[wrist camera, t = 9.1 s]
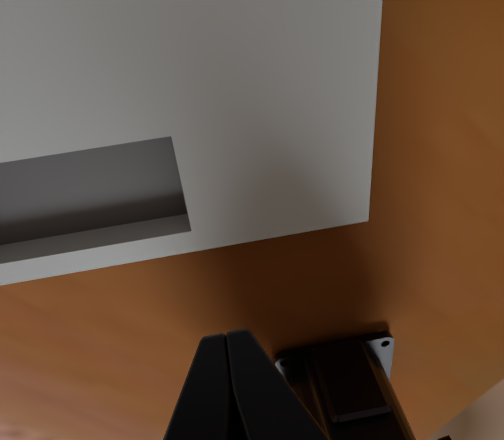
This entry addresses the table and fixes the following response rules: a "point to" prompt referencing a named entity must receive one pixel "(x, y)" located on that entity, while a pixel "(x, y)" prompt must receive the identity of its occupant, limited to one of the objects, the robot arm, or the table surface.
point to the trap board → (179, 126)
